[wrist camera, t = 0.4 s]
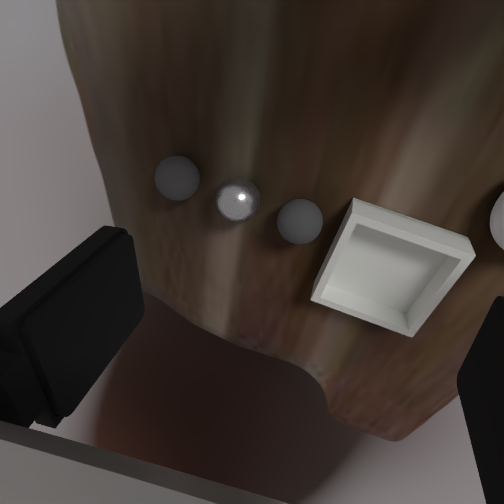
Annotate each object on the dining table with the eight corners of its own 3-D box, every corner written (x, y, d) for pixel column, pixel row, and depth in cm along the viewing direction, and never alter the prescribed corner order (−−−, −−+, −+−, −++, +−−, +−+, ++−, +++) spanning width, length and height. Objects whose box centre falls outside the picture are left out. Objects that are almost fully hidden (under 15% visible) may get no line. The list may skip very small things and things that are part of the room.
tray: (353, 197, 44) (352, 212, 41) (468, 237, 43) (475, 255, 40) (314, 281, 53) (310, 300, 49) (409, 316, 52) (412, 337, 48)
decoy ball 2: (288, 185, 45) (280, 204, 41) (331, 200, 45) (327, 221, 41) (276, 221, 49) (267, 243, 44) (316, 236, 48) (310, 259, 44)
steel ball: (228, 164, 46) (213, 181, 42) (269, 178, 46) (259, 197, 41) (220, 201, 49) (205, 221, 45) (258, 215, 49) (247, 236, 45)
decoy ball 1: (168, 143, 47) (147, 158, 42) (209, 157, 46) (192, 174, 42) (164, 182, 50) (144, 199, 45) (202, 195, 50) (186, 214, 45)
